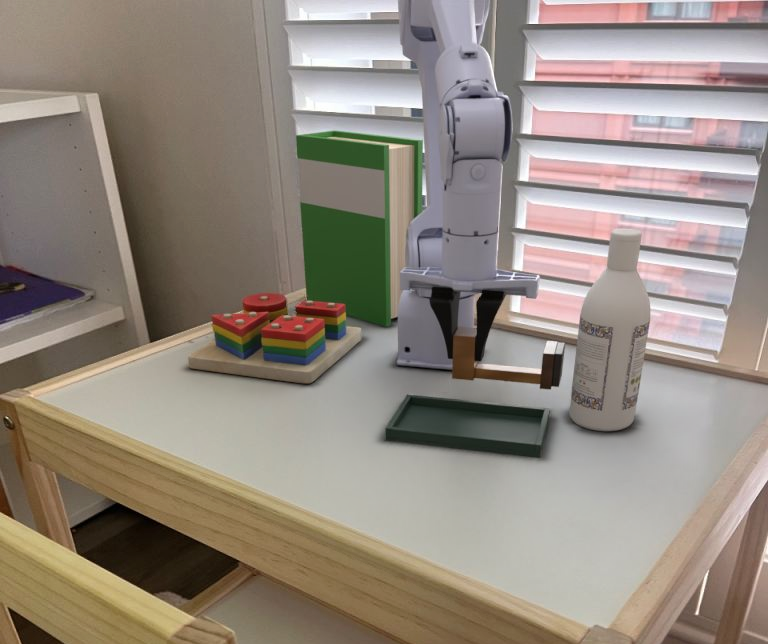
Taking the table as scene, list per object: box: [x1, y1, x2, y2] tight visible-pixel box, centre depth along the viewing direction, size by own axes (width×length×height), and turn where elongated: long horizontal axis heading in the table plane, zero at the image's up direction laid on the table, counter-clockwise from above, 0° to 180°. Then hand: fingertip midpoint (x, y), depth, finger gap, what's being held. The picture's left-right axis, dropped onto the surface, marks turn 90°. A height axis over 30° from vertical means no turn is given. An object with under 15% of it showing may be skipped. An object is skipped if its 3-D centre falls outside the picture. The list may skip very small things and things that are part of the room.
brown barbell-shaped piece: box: [451, 327, 566, 390], centre depth 87 cm, size 12×4×5 cm, turn 74°
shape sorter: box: [187, 292, 362, 385], centre depth 106 cm, size 18×17×6 cm
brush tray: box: [384, 394, 551, 458], centre depth 86 cm, size 16×9×1 cm, turn 74°
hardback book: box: [295, 129, 424, 328], centre depth 117 cm, size 18×7×24 cm, turn 45°
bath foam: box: [569, 227, 651, 432], centre depth 83 cm, size 7×7×20 cm
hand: (465, 357), depth 89 cm, fingers closed on brown barbell-shaped piece, 2 cm apart
